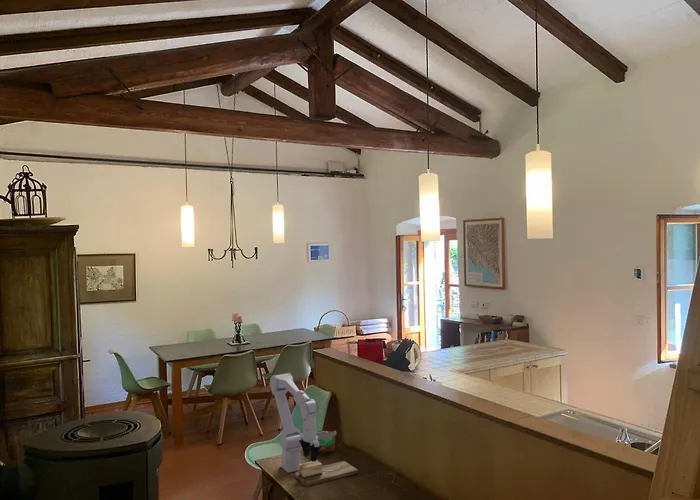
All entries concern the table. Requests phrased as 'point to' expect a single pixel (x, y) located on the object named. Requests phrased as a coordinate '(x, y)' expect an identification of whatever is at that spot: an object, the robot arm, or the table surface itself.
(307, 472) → the block
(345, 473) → the walnut board
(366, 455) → the table surface
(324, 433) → the food container
